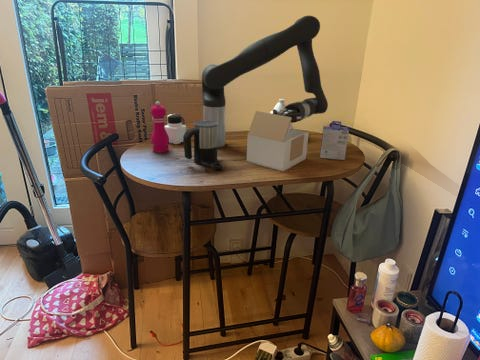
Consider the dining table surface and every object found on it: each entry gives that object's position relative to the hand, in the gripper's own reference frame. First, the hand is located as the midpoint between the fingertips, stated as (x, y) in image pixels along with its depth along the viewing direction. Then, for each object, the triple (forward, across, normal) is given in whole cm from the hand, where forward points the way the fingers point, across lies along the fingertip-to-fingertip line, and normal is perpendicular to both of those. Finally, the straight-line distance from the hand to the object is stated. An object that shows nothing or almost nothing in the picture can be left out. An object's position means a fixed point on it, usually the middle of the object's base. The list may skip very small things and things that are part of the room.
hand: (274, 118), depth 128 cm
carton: (-4, 0, +17) cm, 17 cm away
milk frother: (+17, -17, +17) cm, 30 cm away
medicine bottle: (+4, -48, +17) cm, 51 cm away
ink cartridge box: (-22, +15, +17) cm, 32 cm away
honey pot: (-33, -17, +17) cm, 41 cm away
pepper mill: (+17, -43, +17) cm, 50 cm away
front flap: (+3, 0, +2) cm, 4 cm away
